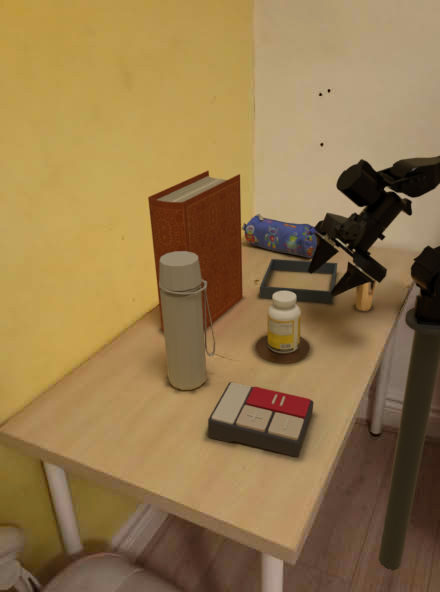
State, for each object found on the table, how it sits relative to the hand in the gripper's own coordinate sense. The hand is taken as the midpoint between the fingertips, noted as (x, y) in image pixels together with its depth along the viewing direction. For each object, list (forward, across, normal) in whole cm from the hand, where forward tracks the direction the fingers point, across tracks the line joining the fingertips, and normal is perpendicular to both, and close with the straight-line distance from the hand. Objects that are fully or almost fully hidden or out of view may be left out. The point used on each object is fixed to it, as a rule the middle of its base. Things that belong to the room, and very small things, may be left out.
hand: (320, 283), depth 106 cm
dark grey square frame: (+6, -24, +17) cm, 30 cm away
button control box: (+22, +21, -9) cm, 32 cm away
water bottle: (+28, +5, -13) cm, 31 cm away
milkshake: (0, -7, +22) cm, 24 cm away
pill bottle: (+15, +1, +2) cm, 15 cm away
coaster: (+15, +1, +3) cm, 15 cm away
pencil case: (+5, -46, +23) cm, 52 cm away
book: (+24, -19, -4) cm, 31 cm away
